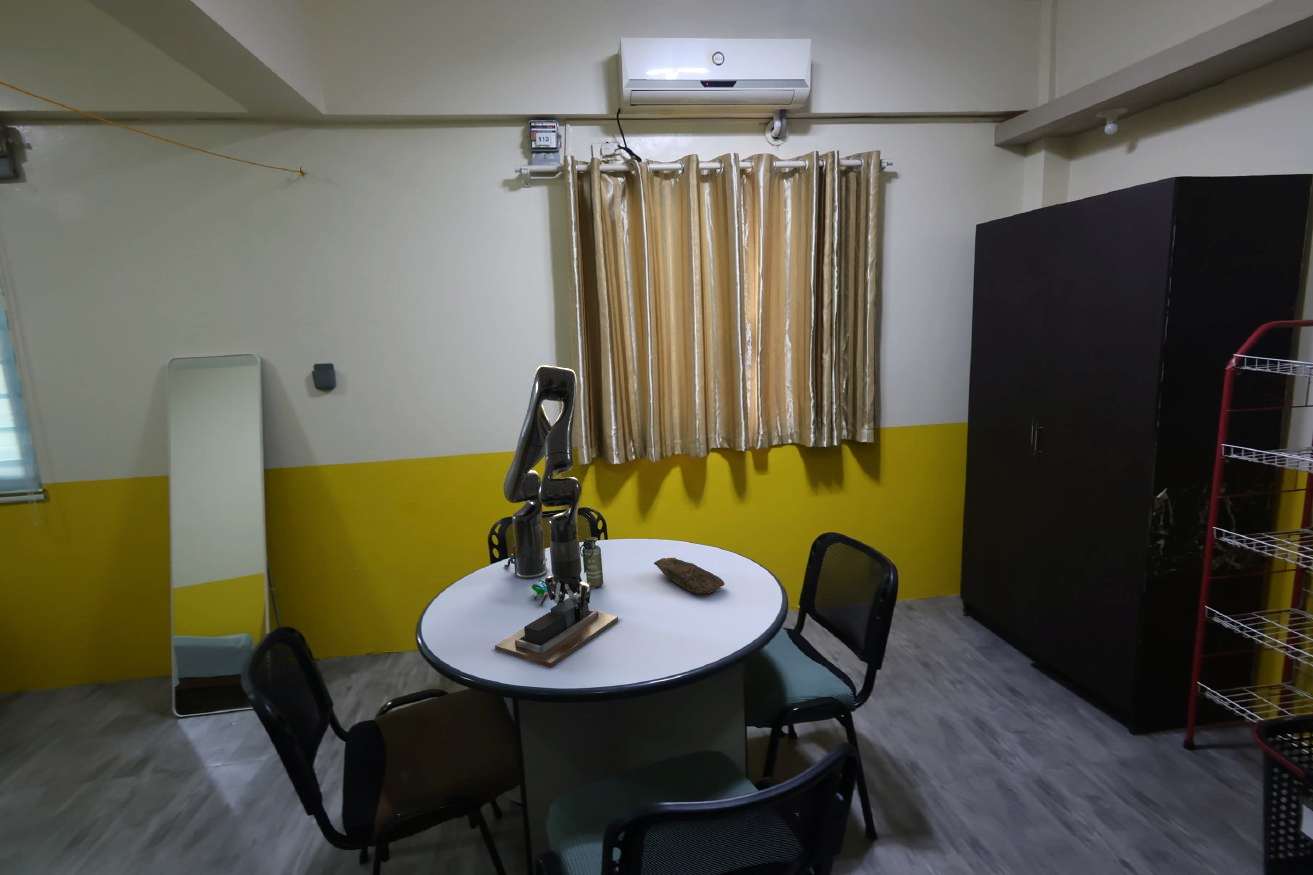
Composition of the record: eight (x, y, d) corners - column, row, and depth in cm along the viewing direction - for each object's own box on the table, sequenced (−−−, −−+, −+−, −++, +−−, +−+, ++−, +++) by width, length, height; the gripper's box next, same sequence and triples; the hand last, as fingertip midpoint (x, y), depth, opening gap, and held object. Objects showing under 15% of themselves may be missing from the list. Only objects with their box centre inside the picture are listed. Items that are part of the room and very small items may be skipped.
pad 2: (551, 624, 155) (550, 608, 155) (574, 610, 163) (573, 594, 162) (566, 629, 153) (565, 612, 152) (589, 614, 160) (588, 598, 159)
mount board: (495, 649, 148) (494, 639, 148) (565, 607, 170) (564, 598, 169) (551, 667, 139) (550, 656, 138) (618, 620, 160) (617, 611, 160)
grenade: (605, 582, 186) (601, 535, 183) (601, 590, 180) (598, 541, 178) (585, 583, 187) (582, 535, 184) (581, 590, 181) (577, 542, 179)
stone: (702, 600, 170) (701, 580, 169) (649, 573, 191) (648, 555, 191) (731, 590, 175) (731, 571, 174) (677, 564, 197) (676, 547, 196)
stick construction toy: (570, 591, 175) (552, 575, 172) (558, 612, 170) (540, 596, 167) (544, 593, 183) (527, 578, 179) (533, 614, 178) (514, 598, 175)
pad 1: (525, 644, 148) (523, 626, 147) (550, 628, 155) (549, 611, 155) (540, 648, 145) (539, 631, 145) (565, 632, 153) (564, 615, 152)
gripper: (597, 554, 154) (601, 617, 157) (554, 546, 162) (559, 607, 165) (578, 564, 148) (583, 630, 151) (534, 556, 156) (539, 618, 158)
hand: (570, 617), depth 158 cm, fingers closed on pad 2, 5 cm apart
